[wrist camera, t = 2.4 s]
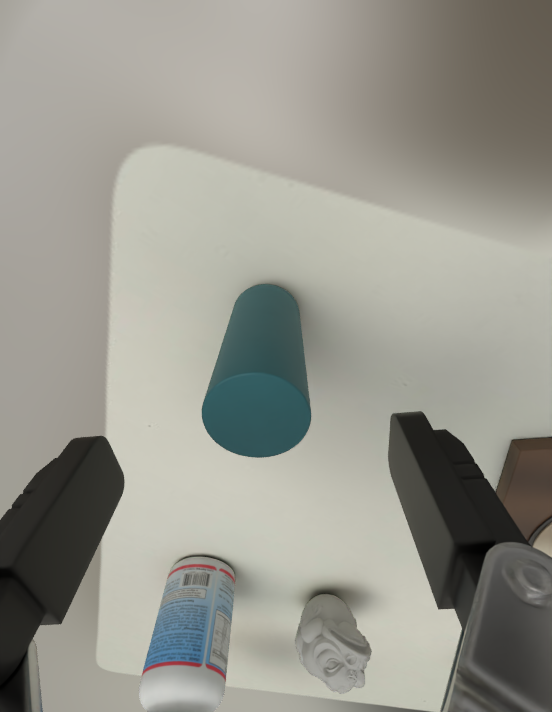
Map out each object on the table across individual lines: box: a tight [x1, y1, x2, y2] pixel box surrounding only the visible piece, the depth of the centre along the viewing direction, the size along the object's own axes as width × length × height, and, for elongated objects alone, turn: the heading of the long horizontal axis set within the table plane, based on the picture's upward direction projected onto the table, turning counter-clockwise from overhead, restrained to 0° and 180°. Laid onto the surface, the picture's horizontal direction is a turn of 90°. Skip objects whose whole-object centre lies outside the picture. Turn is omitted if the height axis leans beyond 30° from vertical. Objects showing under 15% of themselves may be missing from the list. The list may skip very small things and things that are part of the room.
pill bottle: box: [139, 557, 235, 712], centre depth 27 cm, size 6×6×11 cm
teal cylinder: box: [202, 284, 311, 458], centre depth 15 cm, size 3×3×9 cm
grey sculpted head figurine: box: [295, 594, 372, 694], centre depth 30 cm, size 6×7×7 cm
